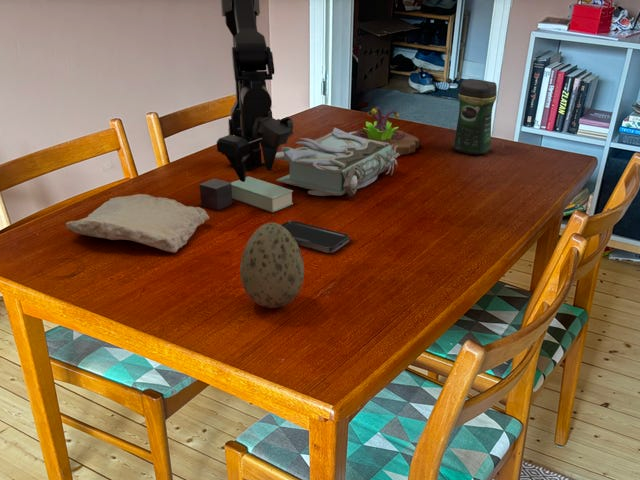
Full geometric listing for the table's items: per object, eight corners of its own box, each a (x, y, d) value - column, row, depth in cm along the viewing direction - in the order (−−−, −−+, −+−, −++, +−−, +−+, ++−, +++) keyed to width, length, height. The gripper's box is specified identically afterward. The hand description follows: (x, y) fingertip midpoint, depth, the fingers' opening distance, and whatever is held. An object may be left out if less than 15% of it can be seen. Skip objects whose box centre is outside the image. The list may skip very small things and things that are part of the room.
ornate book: (345, 209, 168) (407, 169, 189) (345, 168, 163) (409, 131, 183) (265, 189, 178) (332, 153, 199) (263, 150, 173) (332, 117, 193)
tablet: (166, 266, 142) (213, 219, 157) (159, 231, 138) (208, 186, 152) (60, 251, 149) (115, 207, 164) (50, 217, 145) (107, 175, 159)
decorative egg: (316, 308, 128) (316, 227, 120) (262, 326, 122) (258, 242, 114) (283, 284, 135) (281, 206, 127) (231, 300, 130) (225, 220, 122)
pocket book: (228, 197, 171) (227, 183, 169) (249, 189, 176) (248, 176, 174) (272, 212, 164) (272, 198, 162) (293, 204, 168) (293, 190, 166)
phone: (290, 219, 157) (351, 235, 151) (290, 224, 158) (351, 240, 152) (268, 232, 152) (331, 249, 145) (268, 237, 152) (331, 254, 146)
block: (201, 205, 166) (199, 184, 164) (216, 199, 170) (214, 178, 167) (217, 210, 164) (216, 189, 161) (232, 204, 168) (231, 182, 165)
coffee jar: (493, 150, 203) (503, 80, 193) (480, 157, 198) (489, 85, 188) (462, 144, 208) (470, 74, 198) (448, 150, 203) (455, 79, 193)
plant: (327, 145, 205) (327, 104, 199) (377, 132, 216) (378, 92, 210) (379, 164, 193) (381, 120, 186) (428, 149, 204) (432, 107, 198)
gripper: (254, 120, 147) (257, 195, 156) (309, 101, 160) (309, 171, 169) (212, 111, 152) (217, 184, 161) (269, 93, 165) (271, 162, 174)
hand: (256, 175), depth 166 cm, fingers open, 9 cm apart
